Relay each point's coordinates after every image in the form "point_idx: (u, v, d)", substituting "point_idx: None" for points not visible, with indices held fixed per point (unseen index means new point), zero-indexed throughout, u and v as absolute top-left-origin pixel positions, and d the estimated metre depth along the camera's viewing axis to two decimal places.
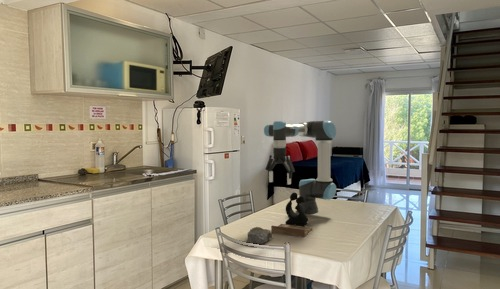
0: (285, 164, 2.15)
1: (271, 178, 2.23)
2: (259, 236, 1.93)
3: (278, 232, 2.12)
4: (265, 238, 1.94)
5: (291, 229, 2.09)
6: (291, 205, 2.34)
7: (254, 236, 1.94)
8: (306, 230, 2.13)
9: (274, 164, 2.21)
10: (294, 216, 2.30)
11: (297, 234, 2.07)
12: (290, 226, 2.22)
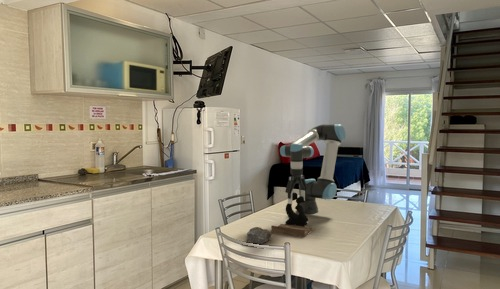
0: None
1: None
2: (259, 236, 1.93)
3: (278, 232, 2.12)
4: (265, 238, 1.94)
5: (291, 229, 2.09)
6: (291, 205, 2.34)
7: (254, 236, 1.94)
8: (306, 230, 2.13)
9: (299, 184, 2.34)
10: (294, 216, 2.30)
11: (297, 234, 2.07)
12: (290, 226, 2.22)
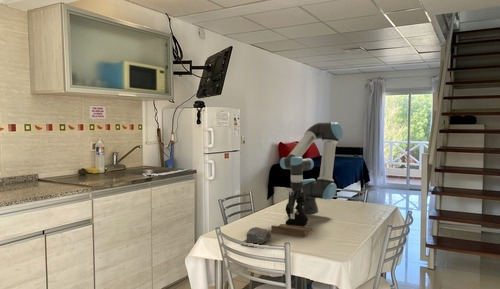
0: None
1: None
2: (258, 236, 1.93)
3: (278, 232, 2.12)
4: (264, 238, 1.94)
5: (291, 229, 2.09)
6: None
7: (253, 236, 1.94)
8: (306, 230, 2.13)
9: None
10: None
11: (297, 234, 2.07)
12: (290, 226, 2.22)
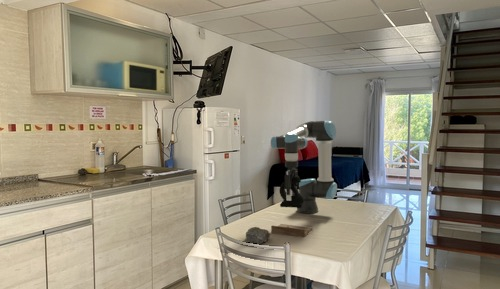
0: None
1: None
2: (258, 236, 1.93)
3: (278, 232, 2.12)
4: (263, 238, 1.94)
5: (291, 229, 2.09)
6: None
7: (252, 236, 1.94)
8: (306, 230, 2.13)
9: None
10: None
11: (297, 234, 2.07)
12: (290, 226, 2.22)
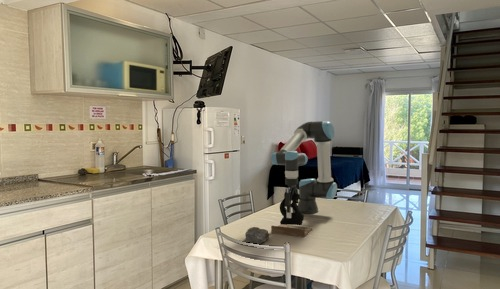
0: None
1: None
2: (257, 236, 1.93)
3: (278, 232, 2.12)
4: (263, 238, 1.94)
5: (291, 229, 2.09)
6: None
7: (252, 236, 1.94)
8: (306, 230, 2.13)
9: None
10: None
11: (297, 234, 2.07)
12: (290, 226, 2.22)
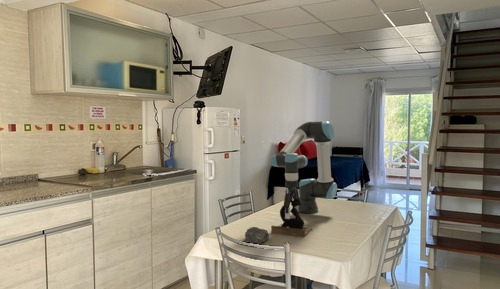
0: None
1: None
2: (257, 236, 1.93)
3: (278, 232, 2.12)
4: (263, 238, 1.94)
5: (291, 229, 2.09)
6: None
7: (252, 236, 1.95)
8: (306, 230, 2.13)
9: (293, 196, 2.19)
10: (290, 220, 2.13)
11: (297, 234, 2.07)
12: None
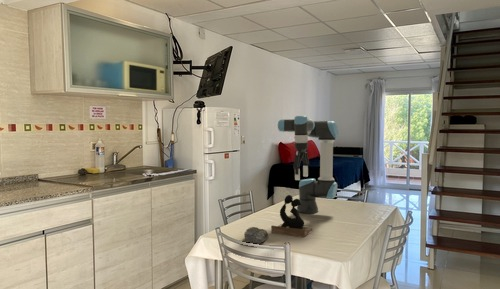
0: None
1: (305, 173, 2.23)
2: (256, 236, 1.94)
3: (278, 232, 2.12)
4: (262, 238, 1.95)
5: (291, 229, 2.09)
6: None
7: (251, 236, 1.95)
8: (306, 230, 2.13)
9: (303, 159, 2.20)
10: (290, 220, 2.13)
11: (297, 234, 2.07)
12: None
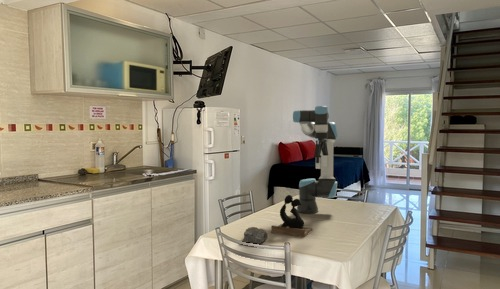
0: None
1: (324, 162, 2.27)
2: (256, 236, 1.94)
3: (278, 232, 2.12)
4: (262, 238, 1.95)
5: (291, 229, 2.09)
6: None
7: (251, 236, 1.95)
8: (306, 230, 2.13)
9: (322, 148, 2.25)
10: (290, 220, 2.13)
11: (297, 234, 2.07)
12: None
